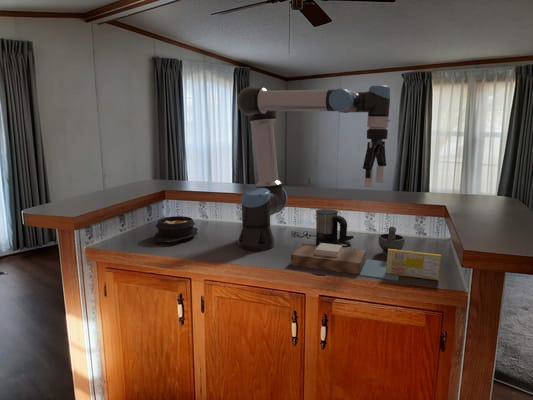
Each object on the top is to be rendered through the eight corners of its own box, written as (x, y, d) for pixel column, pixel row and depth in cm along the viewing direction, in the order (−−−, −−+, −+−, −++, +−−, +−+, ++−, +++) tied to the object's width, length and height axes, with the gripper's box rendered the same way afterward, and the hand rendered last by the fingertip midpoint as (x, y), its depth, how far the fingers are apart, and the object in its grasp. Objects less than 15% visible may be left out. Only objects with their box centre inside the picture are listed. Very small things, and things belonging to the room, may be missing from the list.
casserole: (180, 248, 156) (179, 228, 155) (141, 244, 162) (140, 225, 160) (207, 232, 180) (206, 215, 178) (172, 229, 185) (171, 212, 184)
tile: (315, 254, 135) (315, 249, 135) (320, 248, 142) (321, 242, 142) (337, 257, 132) (337, 251, 132) (342, 250, 140) (342, 245, 139)
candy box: (438, 278, 124) (441, 254, 122) (438, 281, 122) (441, 256, 120) (385, 271, 129) (388, 247, 127) (385, 273, 127) (387, 249, 125)
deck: (291, 265, 136) (291, 254, 135) (302, 253, 149) (302, 243, 148) (359, 274, 127) (359, 263, 127) (365, 261, 140) (365, 250, 139)
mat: (359, 275, 126) (359, 274, 126) (366, 260, 141) (366, 259, 141) (398, 280, 122) (398, 279, 122) (400, 264, 136) (401, 263, 136)
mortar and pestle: (378, 249, 154) (380, 220, 151) (403, 251, 151) (405, 221, 149) (377, 258, 143) (379, 227, 141) (403, 260, 140) (406, 229, 138)
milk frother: (311, 247, 157) (312, 212, 154) (324, 237, 170) (325, 205, 168) (345, 252, 150) (346, 215, 147) (356, 241, 164) (357, 208, 161)
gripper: (377, 128, 130) (373, 189, 135) (396, 128, 151) (392, 181, 155) (356, 128, 134) (352, 187, 139) (377, 128, 155) (374, 180, 159)
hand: (373, 184), depth 147 cm, fingers open, 13 cm apart
